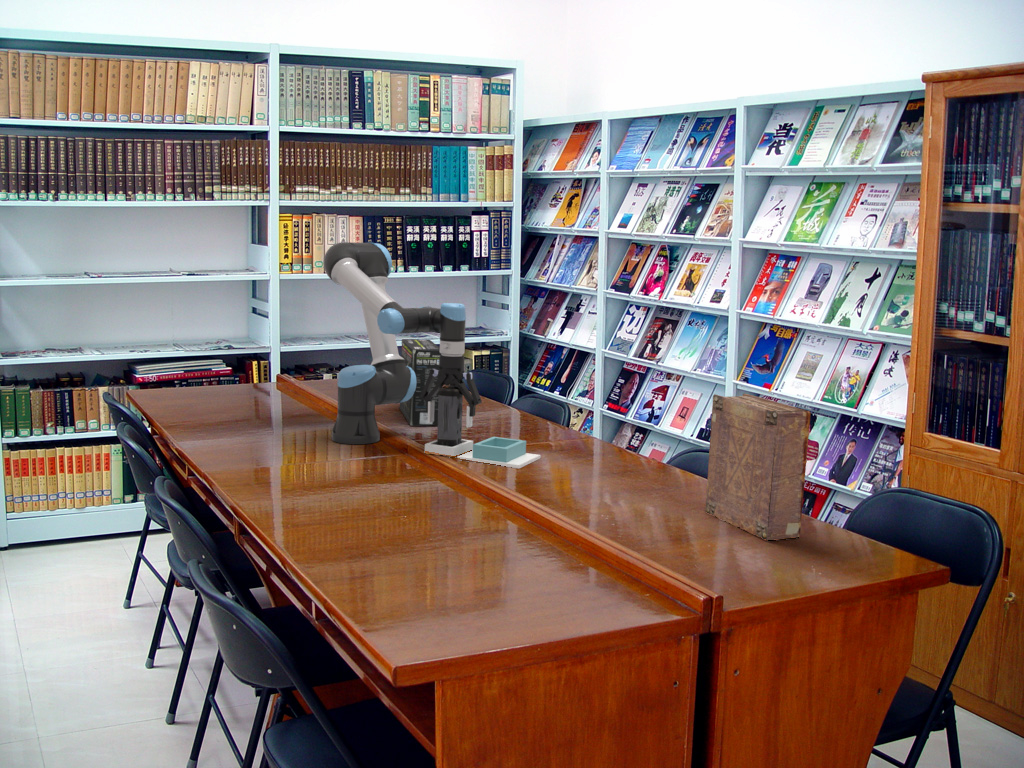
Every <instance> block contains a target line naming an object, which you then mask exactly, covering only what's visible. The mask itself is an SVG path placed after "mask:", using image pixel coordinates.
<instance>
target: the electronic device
mask: <svg viewBox="0 0 1024 768" xmlns="http://www.w3.org/2000/svg"><path fill="white" fill-rule="evenodd" d="M463 398H464V396H463V394H462V393H461V391H460V390H459V388H457V386H451V385H443V387H442V388H440V389H439V396H438V425H437V434H436V435H437V436H436V437H437V438H436V440H437V445H442V446H449V447H453V446H456V445H459V444H461V439H462V433H463V432H462V431H463V429H462V427H463Z"/></svg>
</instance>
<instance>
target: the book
mask: <svg viewBox="0 0 1024 768" xmlns="http://www.w3.org/2000/svg"><path fill="white" fill-rule="evenodd" d="M711 408H712V409H711V422H710V423H711V424H710V434H709V435H710V436H709V437H710V438H709V451H708V452H709V453H708V464H707V465H708V468H707V481H706V483H707V484H706V495H705V508H704V509H705V510H704V511H705V513H706V512H707V513H709V514H712V515H714V516H716V517H718V518H720V519H722V520H725V521H727V522H729V523H731V524H734V525H736V526H738V527H740V528H743V529H745V530H747V531H749V532H751V533H753V534H755V535H758V536H759V537H762V538H763V539H766V540H774V539H783V538H791V537H799V538H800V537H801V526H802V514H803V513H802V512H803V505H804V494H805V493H804V491H805V480H806V470H807V460H808V458H807V457H808V446H809V437H810V426H811V424H810V423H811V414H812V412H811V411H810V410H808V409H803V408H799V407H796V406H792V405H788V404H785V403H782V402H777V401H774V400H770V399H766V398H762V397H760V396H755V395H752V394H748V393H743V394H742V395H739V396H738V395H735V396H734V395H733V396H723V395H719V394H715V393H714V394H713V395H712V406H711ZM707 513H706V514H707ZM709 514H708V515H709ZM722 520H721V521H722Z"/></svg>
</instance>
